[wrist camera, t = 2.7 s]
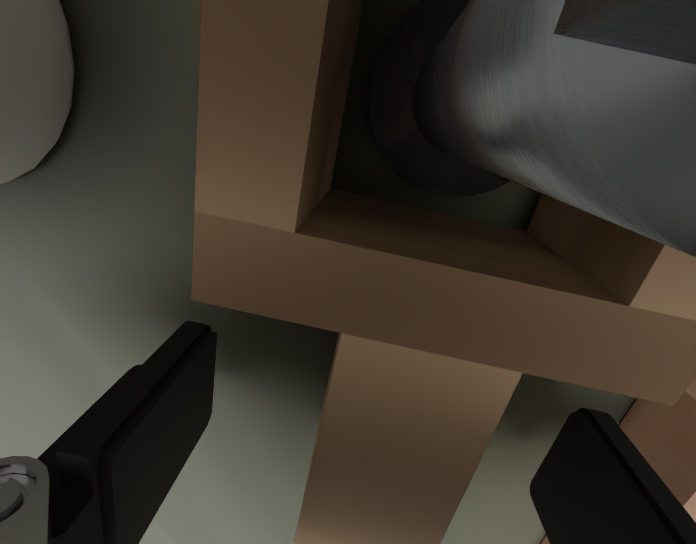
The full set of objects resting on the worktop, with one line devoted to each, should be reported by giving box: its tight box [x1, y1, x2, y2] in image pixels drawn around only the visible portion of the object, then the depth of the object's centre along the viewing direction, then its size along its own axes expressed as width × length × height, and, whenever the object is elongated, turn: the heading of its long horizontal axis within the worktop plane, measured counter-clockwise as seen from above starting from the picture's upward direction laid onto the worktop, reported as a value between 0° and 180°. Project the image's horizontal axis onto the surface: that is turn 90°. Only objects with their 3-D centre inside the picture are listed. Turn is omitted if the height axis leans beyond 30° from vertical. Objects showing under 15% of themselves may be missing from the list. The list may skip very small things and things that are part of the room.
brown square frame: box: [191, 0, 696, 544], centre depth 7 cm, size 14×8×4 cm, turn 169°
